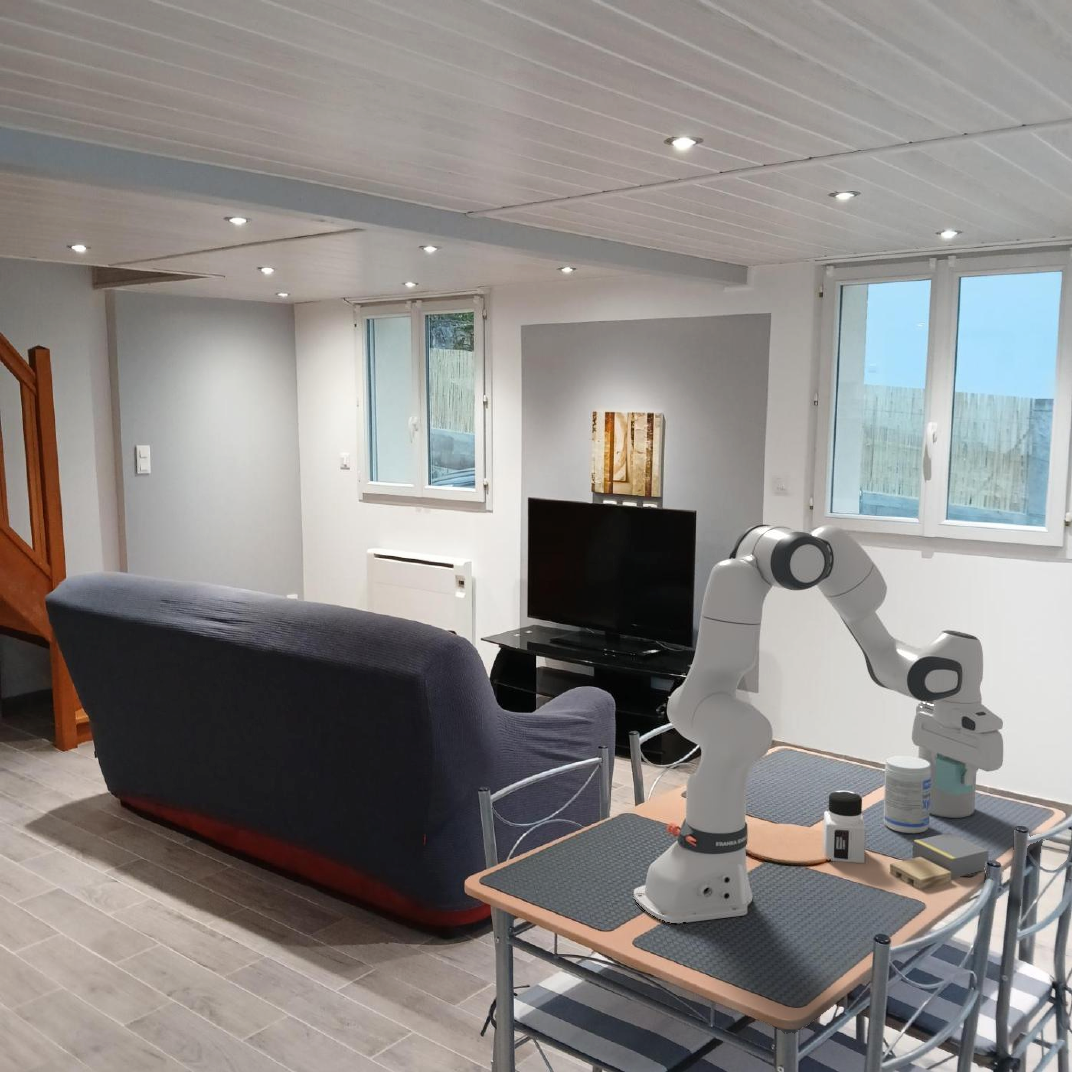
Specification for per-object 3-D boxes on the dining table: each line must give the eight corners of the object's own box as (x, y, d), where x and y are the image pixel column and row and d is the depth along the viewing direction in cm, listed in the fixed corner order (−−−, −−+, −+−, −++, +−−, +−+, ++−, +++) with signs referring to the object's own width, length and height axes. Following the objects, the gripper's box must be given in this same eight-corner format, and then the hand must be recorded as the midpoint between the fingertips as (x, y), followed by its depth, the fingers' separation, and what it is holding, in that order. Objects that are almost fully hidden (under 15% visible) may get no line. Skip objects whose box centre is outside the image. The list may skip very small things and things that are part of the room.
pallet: (920, 889, 203) (920, 879, 202) (889, 873, 210) (890, 863, 209) (951, 881, 206) (951, 872, 206) (919, 866, 213) (920, 856, 213)
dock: (950, 879, 207) (951, 858, 207) (912, 859, 216) (913, 840, 216) (987, 869, 212) (988, 850, 211) (948, 851, 221) (949, 832, 220)
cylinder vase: (979, 806, 246) (984, 701, 243) (967, 823, 236) (973, 713, 233) (923, 795, 253) (928, 693, 250) (910, 811, 243) (914, 705, 240)
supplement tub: (932, 836, 228) (935, 770, 227) (887, 833, 230) (889, 767, 228) (923, 819, 238) (926, 755, 236) (879, 817, 239) (882, 753, 238)
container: (864, 864, 214) (867, 802, 213) (825, 860, 216) (827, 799, 214) (861, 848, 222) (863, 788, 220) (822, 845, 223) (824, 786, 222)
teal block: (954, 795, 209) (955, 765, 208) (934, 787, 213) (935, 758, 213) (972, 791, 211) (973, 762, 210) (952, 783, 215) (954, 755, 215)
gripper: (905, 701, 218) (903, 766, 220) (986, 727, 200) (983, 798, 202) (928, 697, 221) (925, 761, 223) (1010, 723, 203) (1006, 793, 204)
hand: (953, 779), depth 212 cm, fingers closed on teal block, 5 cm apart
